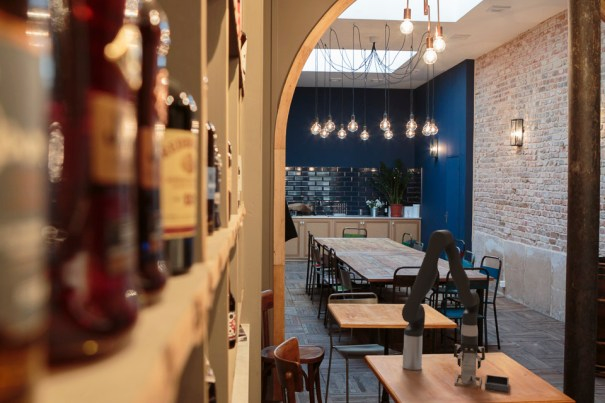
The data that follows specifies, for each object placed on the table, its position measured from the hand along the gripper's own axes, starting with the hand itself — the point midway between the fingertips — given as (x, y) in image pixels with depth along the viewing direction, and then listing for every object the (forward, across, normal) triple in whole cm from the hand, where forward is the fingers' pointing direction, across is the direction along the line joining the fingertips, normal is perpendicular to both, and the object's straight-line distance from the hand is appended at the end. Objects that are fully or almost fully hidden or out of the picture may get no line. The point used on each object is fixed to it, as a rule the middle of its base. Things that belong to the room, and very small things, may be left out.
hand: (469, 367), depth 266 cm
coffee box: (+8, 0, 0) cm, 8 cm away
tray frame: (+7, 0, 0) cm, 7 cm away
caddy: (+8, +13, 0) cm, 15 cm away
